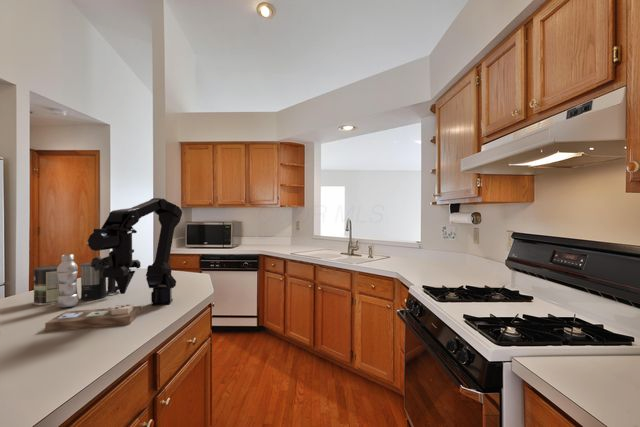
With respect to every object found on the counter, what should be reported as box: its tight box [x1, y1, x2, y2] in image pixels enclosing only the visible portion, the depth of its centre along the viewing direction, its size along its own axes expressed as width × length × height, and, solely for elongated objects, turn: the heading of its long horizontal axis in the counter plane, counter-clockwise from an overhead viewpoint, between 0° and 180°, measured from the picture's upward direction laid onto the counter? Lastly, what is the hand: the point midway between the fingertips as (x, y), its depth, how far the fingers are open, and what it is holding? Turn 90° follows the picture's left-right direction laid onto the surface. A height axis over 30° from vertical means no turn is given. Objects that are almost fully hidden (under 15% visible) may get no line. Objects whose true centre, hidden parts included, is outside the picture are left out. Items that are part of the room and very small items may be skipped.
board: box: [44, 305, 142, 332], centre depth 105 cm, size 23×12×2 cm, turn 105°
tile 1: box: [85, 311, 109, 317], centre depth 105 cm, size 5×5×2 cm
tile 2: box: [57, 312, 83, 319], centre depth 103 cm, size 5×5×2 cm
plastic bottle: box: [56, 253, 80, 309], centre depth 121 cm, size 6×7×20 cm
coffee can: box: [32, 264, 60, 306], centre depth 129 cm, size 10×10×14 cm
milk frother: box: [79, 262, 119, 301], centre depth 139 cm, size 14×16×15 cm
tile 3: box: [111, 303, 134, 315], centre depth 106 cm, size 5×5×2 cm
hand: (122, 293), depth 107 cm, fingers closed
